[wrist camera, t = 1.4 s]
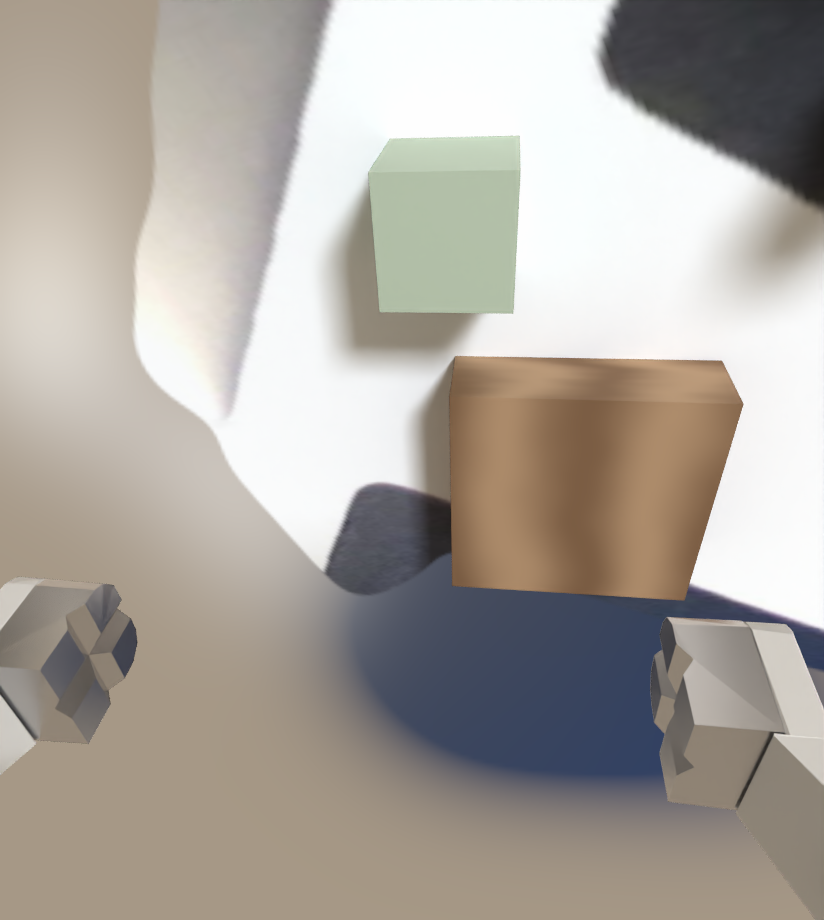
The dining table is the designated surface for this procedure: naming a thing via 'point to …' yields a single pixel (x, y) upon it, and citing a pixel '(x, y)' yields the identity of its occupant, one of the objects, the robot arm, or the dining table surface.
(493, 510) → the walnut block
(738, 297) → the dining table surface
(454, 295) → the green cube
